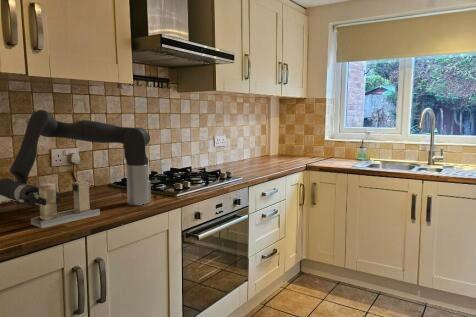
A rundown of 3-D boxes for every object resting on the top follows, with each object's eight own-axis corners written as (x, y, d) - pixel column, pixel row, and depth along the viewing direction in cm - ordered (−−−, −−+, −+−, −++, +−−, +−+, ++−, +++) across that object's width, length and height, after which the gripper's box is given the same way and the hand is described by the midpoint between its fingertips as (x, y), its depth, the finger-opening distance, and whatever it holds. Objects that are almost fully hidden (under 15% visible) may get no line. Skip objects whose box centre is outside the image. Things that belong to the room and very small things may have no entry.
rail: (88, 211, 148) (87, 179, 147) (100, 214, 143) (98, 181, 142) (30, 224, 131) (28, 187, 129) (41, 228, 126) (39, 190, 125)
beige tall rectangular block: (53, 215, 135) (51, 183, 134) (58, 217, 133) (56, 184, 131) (40, 218, 131) (38, 184, 130) (45, 220, 129) (43, 186, 128)
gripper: (8, 187, 134) (29, 193, 123) (48, 182, 145) (71, 187, 135) (9, 208, 135) (31, 215, 124) (49, 201, 146) (71, 207, 135)
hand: (51, 201), depth 129 cm, fingers closed on beige tall rectangular block, 4 cm apart
